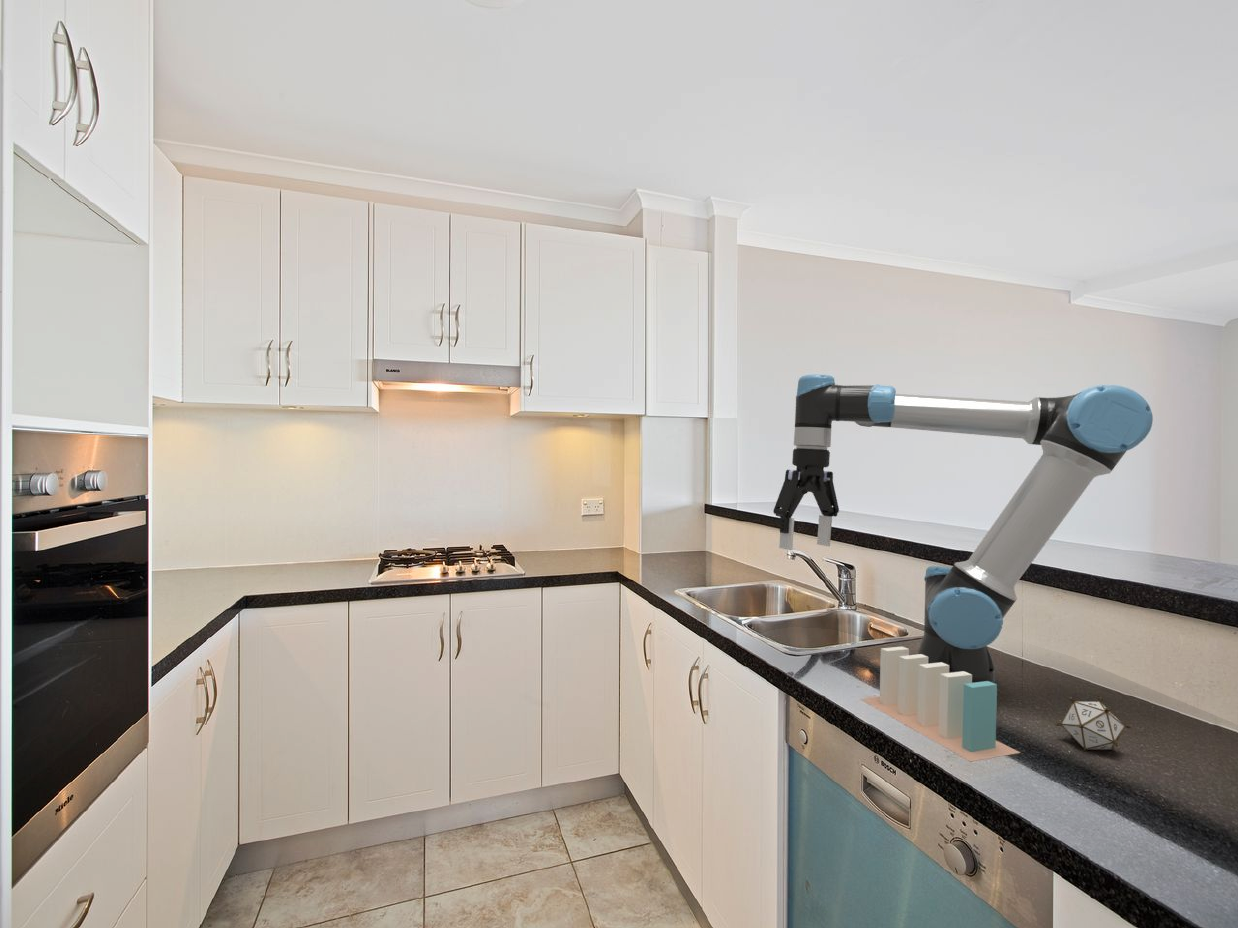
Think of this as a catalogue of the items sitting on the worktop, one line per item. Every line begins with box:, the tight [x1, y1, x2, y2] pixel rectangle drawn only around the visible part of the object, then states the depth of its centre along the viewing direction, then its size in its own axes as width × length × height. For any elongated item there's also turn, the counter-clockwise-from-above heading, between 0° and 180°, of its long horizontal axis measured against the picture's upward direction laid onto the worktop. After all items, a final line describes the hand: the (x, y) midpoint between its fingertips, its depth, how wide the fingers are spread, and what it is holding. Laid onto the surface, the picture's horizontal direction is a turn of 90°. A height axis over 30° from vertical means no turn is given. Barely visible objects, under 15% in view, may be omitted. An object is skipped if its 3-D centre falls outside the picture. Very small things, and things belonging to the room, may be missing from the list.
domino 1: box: [879, 646, 910, 705], centre depth 111 cm, size 2×5×10 cm, turn 108°
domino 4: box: [939, 671, 972, 739], centre depth 98 cm, size 2×5×10 cm, turn 108°
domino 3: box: [917, 662, 949, 727], centre depth 102 cm, size 2×5×10 cm, turn 108°
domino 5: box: [962, 681, 998, 752], centre depth 94 cm, size 2×5×10 cm, turn 108°
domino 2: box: [898, 653, 928, 716], centre depth 106 cm, size 2×5×10 cm, turn 108°
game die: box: [1054, 696, 1133, 753], centre depth 95 cm, size 9×8×10 cm
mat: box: [860, 695, 1021, 763], centre depth 102 cm, size 24×10×1 cm, turn 18°
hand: (805, 547), depth 128 cm, fingers open, 13 cm apart
